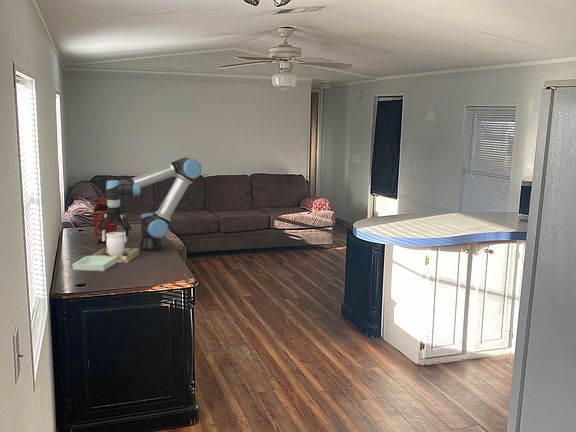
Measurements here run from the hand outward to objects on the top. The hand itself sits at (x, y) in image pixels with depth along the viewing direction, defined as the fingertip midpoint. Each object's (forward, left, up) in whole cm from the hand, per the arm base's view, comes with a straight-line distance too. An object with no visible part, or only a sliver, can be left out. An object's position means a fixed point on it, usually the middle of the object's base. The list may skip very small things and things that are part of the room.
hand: (114, 241), depth 343 cm
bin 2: (0, 0, -10) cm, 10 cm away
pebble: (+7, -7, -10) cm, 14 cm away
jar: (0, 0, -10) cm, 10 cm away
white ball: (-8, -7, -10) cm, 15 cm away
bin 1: (+4, +20, -10) cm, 23 cm away
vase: (+22, -36, -10) cm, 43 cm away
